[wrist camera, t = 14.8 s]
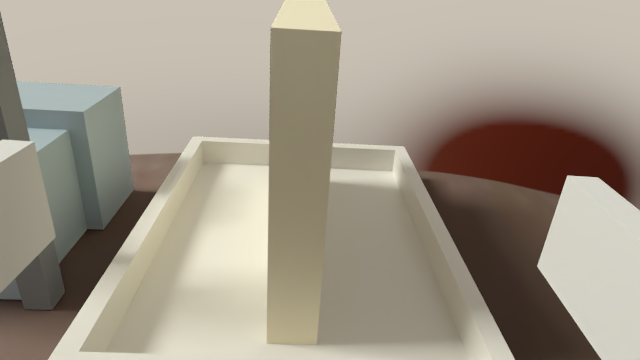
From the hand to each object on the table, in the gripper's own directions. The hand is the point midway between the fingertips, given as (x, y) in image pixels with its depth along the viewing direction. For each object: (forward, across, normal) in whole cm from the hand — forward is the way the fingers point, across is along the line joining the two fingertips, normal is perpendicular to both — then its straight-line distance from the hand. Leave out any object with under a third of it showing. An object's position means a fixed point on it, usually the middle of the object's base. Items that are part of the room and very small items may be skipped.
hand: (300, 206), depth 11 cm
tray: (+11, 0, -9) cm, 14 cm away
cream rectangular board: (+11, 0, -8) cm, 14 cm away
